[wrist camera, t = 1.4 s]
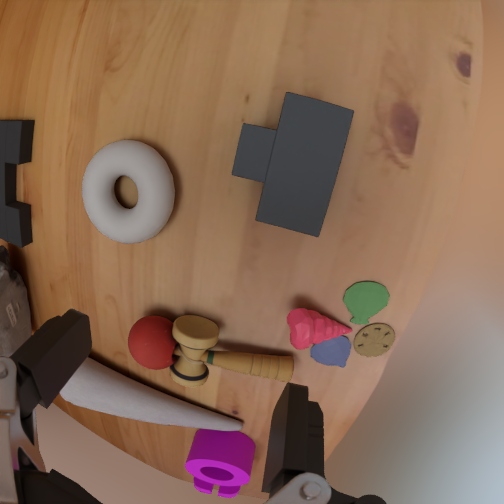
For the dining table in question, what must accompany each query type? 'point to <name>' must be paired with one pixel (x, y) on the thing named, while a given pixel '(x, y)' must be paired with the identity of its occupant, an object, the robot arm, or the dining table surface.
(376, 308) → the toy pieces
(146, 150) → the donut
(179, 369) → the kendama
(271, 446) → the robot arm
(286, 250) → the dining table surface
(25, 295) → the decorative rock
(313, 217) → the grey pad
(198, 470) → the tape dispenser
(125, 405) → the grey hollow cone
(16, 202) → the black pad
